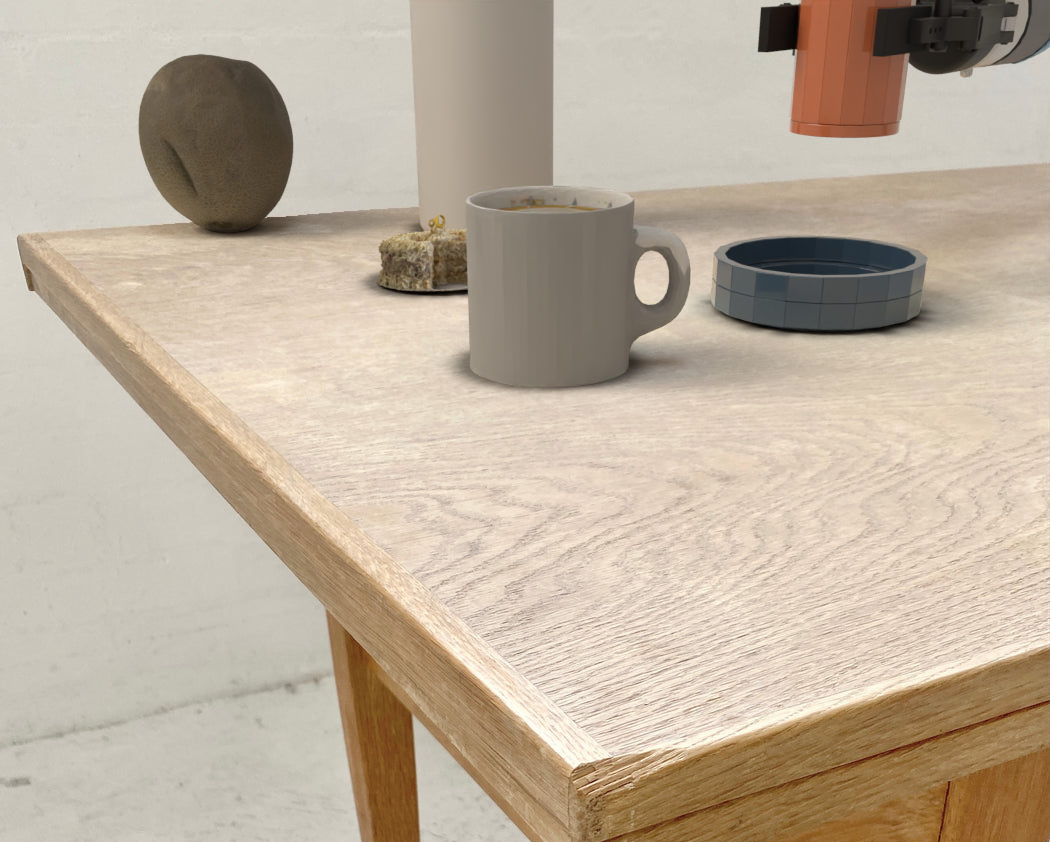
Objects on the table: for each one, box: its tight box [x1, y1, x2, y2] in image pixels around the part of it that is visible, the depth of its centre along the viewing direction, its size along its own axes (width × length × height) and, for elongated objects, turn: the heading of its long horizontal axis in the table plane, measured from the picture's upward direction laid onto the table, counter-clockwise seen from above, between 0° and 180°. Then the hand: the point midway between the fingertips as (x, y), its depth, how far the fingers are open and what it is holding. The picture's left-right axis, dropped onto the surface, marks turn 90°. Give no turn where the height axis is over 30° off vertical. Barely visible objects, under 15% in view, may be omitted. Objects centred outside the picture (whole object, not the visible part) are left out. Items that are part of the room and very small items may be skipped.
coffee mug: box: [466, 185, 692, 388], centre depth 78 cm, size 13×10×10 cm
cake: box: [376, 215, 468, 293], centre depth 100 cm, size 10×10×5 cm
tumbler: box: [788, 0, 916, 139], centre depth 89 cm, size 8×8×10 cm
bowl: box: [710, 234, 929, 332], centre depth 92 cm, size 15×15×4 cm
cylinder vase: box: [408, 0, 555, 231], centre depth 115 cm, size 12×12×25 cm
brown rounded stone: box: [138, 53, 294, 233], centre depth 119 cm, size 14×14×15 cm
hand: (821, 31), depth 85 cm, fingers closed on tumbler, 8 cm apart
